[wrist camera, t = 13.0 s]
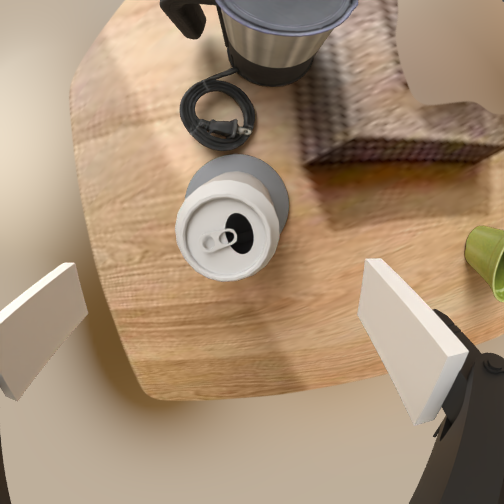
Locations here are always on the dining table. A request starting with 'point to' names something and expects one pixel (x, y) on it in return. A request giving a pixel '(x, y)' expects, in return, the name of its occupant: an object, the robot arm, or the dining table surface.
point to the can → (228, 227)
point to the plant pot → (488, 257)
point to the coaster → (251, 167)
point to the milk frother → (254, 52)
